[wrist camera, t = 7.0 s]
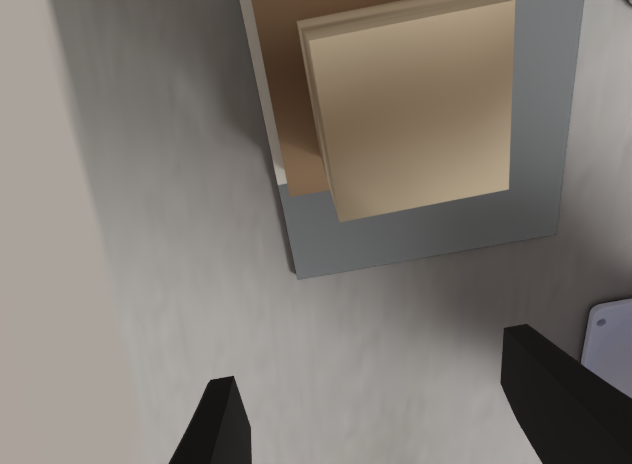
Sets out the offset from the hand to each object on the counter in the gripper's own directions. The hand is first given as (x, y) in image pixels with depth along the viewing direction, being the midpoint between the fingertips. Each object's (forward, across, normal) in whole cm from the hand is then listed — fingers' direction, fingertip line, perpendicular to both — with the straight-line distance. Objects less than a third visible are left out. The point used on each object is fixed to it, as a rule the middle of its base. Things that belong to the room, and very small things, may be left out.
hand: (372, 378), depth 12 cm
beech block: (+7, -2, -6) cm, 9 cm away
